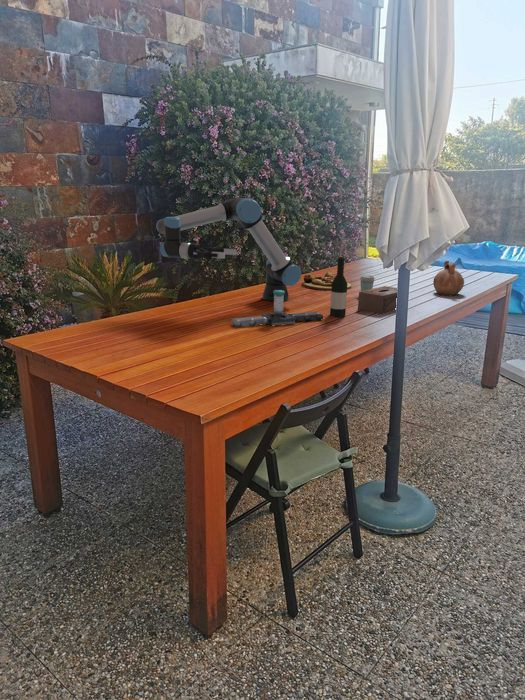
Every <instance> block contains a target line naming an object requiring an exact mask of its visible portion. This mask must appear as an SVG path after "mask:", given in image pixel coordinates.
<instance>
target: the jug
mask: <svg viewBox="0 0 525 700" xmlns="http://www.w3.org/2000/svg"><path fill="white" fill-rule="evenodd" d="M443 265H444V269H442V270H440V271H439V272H437V273H436V275H435V276H434V278H433V283H432V284H433V287H434V290H435V291H436V293H437V294H438V295H441V296H448V297H449V296H450V297H452V296H451V295H454V296H456V294H457V295H458V294H459V292H461V291H462V290H463V288H464V285H465V280H464V278H463V275H462V274H461V273H460V272H459V271H458V270H456V266H457V265H456V263H452V262H450V260H445V261H444V264H443Z"/></svg>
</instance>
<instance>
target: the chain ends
mask: <svg viewBox="0 0 525 700" xmlns="http://www.w3.org/2000/svg"><path fill="white" fill-rule="evenodd" d="M321 319H322V320H323V319H324V315H323V314H322V313H319V312H317V311H309V312H297V313H286V312H283V318H274V312H273V313H263V314H261V316H259V315H258V316H247V317H235V318H232V319H231V320H230V323H231V325H233V326H235V327H237V328H238V327H239V328H242V327H241V326H247V327H255V326H254V325H258V326H261V325H260V324H268V325H269V324H271V325H281V326H283V325H282V324H292V325H295V324H296V323H298V322H297V321H303V322H310V321H309V320H314V321H321ZM294 323H295V324H294ZM271 325H270V326H271Z"/></svg>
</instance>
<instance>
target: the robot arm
mask: <svg viewBox="0 0 525 700" xmlns="http://www.w3.org/2000/svg"><path fill="white" fill-rule="evenodd" d="M263 219H264V216H263V214H262V209H261V206H260V204H259V203H258V202H257V201H256V200H255V199H253V198H248V197H235V198H232V199H231V198H230V199H228V200H225V201H221V202H219V203H218V205H215V206H211V207H207V208H203V209H199V210H196V211H191V212H187V213H184V214H179V215H177V216H166V217H164V218H161V219H159V220H158V221H157V222H156V230H157V231H158V232H159V234H162V235H164V241H162V242H161V244H160V247H159V252H160V254H161V256H163V257H165V258H170V259H171V258H173V259H175V258H176V259H177V258H178V259H184V260H185V261H186V260H188V259H191V260H199V259H200V258H205V259H208V260H211V259H212V258H213V259H226V255H228V256H231V255H232V256H237V255H238V254H237V253H238V251H237V250H238V249H234V248H233V249H232V248H226V247H225V246H223V247H201V246H200V244H199V243H191V242H181V239H182V238H181V231H185V230H189V229H192V228H196V227H199V226H204V225H207V224H211V223H216V222H220V221H222V222H228V221H238V222H239V223H240V225H241V227H242V228H243V230H246V231H249V233H250V234H251V236H252V237H253V239H254V241H255V242H256V244H257V245H258V247H259V248H260V249H261V251H262V252H263V254H264V255H265V257H266V258H267V260H266V263H265V287H264V289H263V292H262V297H261V298H262V299H263V300H264V301H269V302H274V294H273V291H274V290H283V291H285V294H284V301H283V302H286V301H288V300H289V299H290V297H289V292H288V287H293V286H295V285H298V283H299V281H300V280H301V279H302V278H301V277H302V270H301V269H300V267H299V266H298V265H296V264H294V263H293V259H291V258H290V256H286V255H285V254H284V252H283V250H282V249H281V247H280V245H279V244H278V243H277V241H276V239H275V238H274V236H273V235H272V233H271V232H270V231H269V229H268V227H267V226H266V224H265V223H264V221H263ZM287 286H288V287H287Z"/></svg>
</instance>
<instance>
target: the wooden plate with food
mask: <svg viewBox="0 0 525 700" xmlns="http://www.w3.org/2000/svg"><path fill="white" fill-rule="evenodd" d="M336 275H337V274H335V275H334V276H333V274H332V273H331V272H330V271H327V272H326V273H325V274H324V276H318V275H314V276H312V275H311V274H308V273H306V274H305V275H304V276H303V280H302V282H301V285H302V286H303V287H304V288H308V289H313V290H316V289H320V290H319V291H326V290H332V281H333V280H334V278H335V277H336ZM351 288H352V284H351V283H349V282H347V290H350V289H351Z"/></svg>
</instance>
